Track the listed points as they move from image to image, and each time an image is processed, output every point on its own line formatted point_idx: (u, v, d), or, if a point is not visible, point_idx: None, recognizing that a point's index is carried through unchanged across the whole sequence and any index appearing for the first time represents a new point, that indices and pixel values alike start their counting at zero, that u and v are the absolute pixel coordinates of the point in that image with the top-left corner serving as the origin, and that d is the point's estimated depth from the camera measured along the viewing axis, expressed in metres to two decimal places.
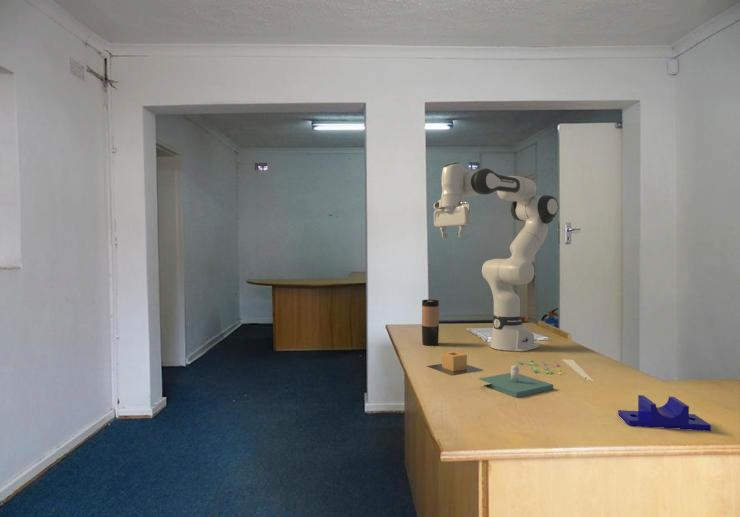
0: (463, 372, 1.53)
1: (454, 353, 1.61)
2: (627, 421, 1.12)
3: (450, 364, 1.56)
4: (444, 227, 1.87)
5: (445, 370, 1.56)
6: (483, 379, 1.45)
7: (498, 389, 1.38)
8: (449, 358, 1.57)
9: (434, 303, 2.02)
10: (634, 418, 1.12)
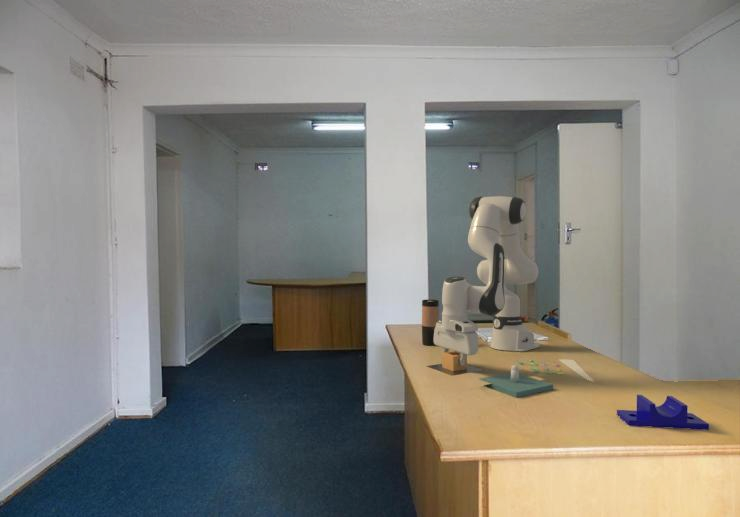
0: (463, 372, 1.53)
1: (454, 353, 1.61)
2: (626, 421, 1.12)
3: (450, 364, 1.56)
4: None
5: (445, 370, 1.56)
6: (483, 379, 1.45)
7: (498, 389, 1.38)
8: (449, 358, 1.57)
9: (434, 303, 2.02)
10: (633, 418, 1.12)
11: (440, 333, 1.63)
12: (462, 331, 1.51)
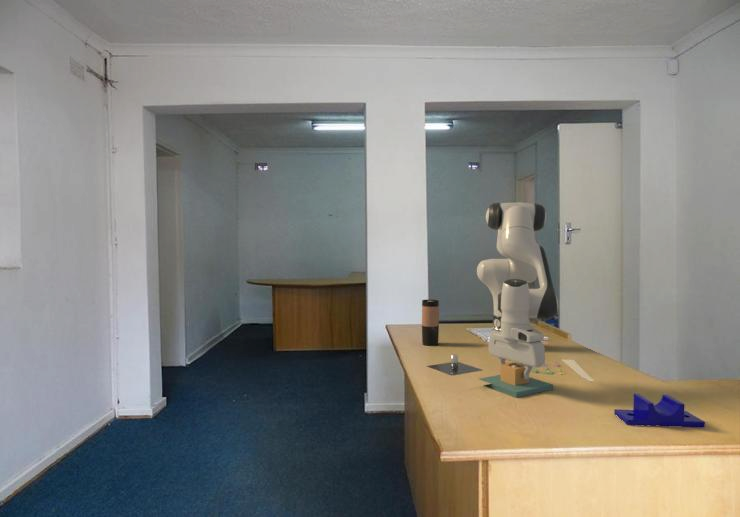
0: (463, 372, 1.53)
1: None
2: (625, 420, 1.12)
3: (511, 377, 1.40)
4: None
5: (445, 370, 1.56)
6: (483, 379, 1.45)
7: (498, 389, 1.38)
8: (509, 370, 1.41)
9: (434, 303, 2.02)
10: (632, 417, 1.13)
11: (497, 342, 1.47)
12: (527, 340, 1.34)
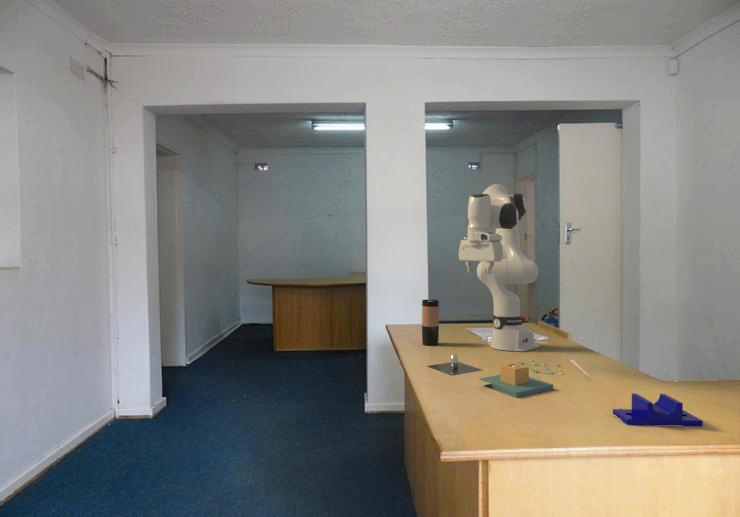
0: (463, 372, 1.53)
1: None
2: (624, 420, 1.13)
3: (511, 377, 1.40)
4: None
5: (445, 370, 1.56)
6: (483, 379, 1.45)
7: (498, 389, 1.38)
8: (509, 370, 1.41)
9: (434, 303, 2.02)
10: (631, 417, 1.13)
11: (466, 248, 1.75)
12: (488, 239, 1.62)
